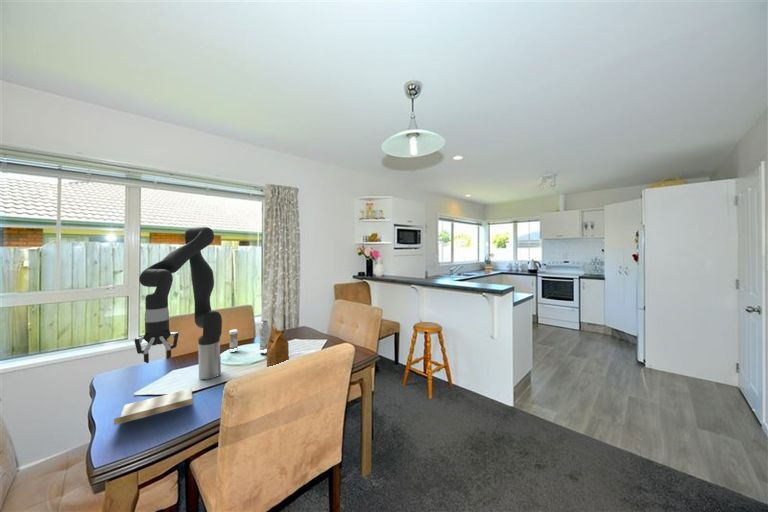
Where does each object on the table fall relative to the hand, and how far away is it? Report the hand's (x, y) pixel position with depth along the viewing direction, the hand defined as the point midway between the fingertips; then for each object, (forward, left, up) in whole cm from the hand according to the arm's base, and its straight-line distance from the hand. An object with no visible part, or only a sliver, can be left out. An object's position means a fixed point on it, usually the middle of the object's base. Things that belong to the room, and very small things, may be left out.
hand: (157, 360), depth 111 cm
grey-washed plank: (0, -2, -20) cm, 20 cm away
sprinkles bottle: (-34, -52, -20) cm, 65 cm away
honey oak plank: (0, +10, -17) cm, 20 cm away
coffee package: (-49, -10, -20) cm, 54 cm away
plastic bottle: (-49, -37, -20) cm, 65 cm away
